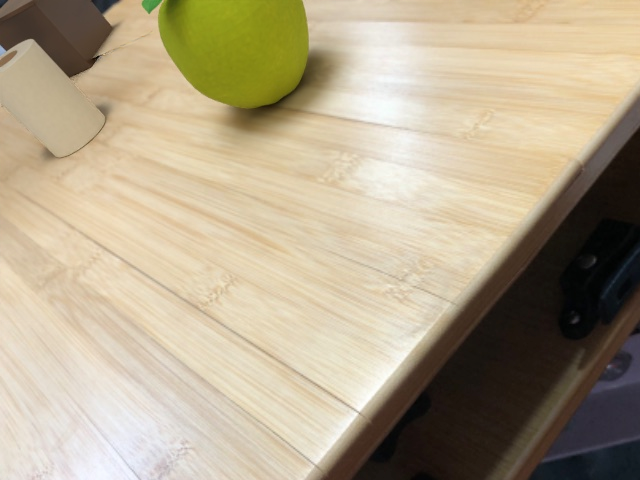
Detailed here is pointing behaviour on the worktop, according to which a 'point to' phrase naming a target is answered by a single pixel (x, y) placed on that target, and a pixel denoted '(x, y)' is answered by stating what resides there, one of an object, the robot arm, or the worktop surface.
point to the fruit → (236, 46)
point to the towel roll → (46, 100)
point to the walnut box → (56, 30)
